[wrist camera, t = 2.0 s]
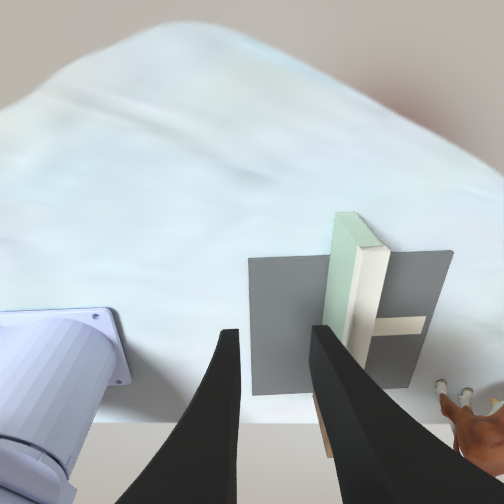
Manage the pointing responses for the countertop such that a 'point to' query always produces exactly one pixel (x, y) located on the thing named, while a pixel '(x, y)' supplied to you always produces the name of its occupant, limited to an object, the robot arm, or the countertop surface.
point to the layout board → (311, 313)
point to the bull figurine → (475, 430)
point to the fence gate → (354, 283)
